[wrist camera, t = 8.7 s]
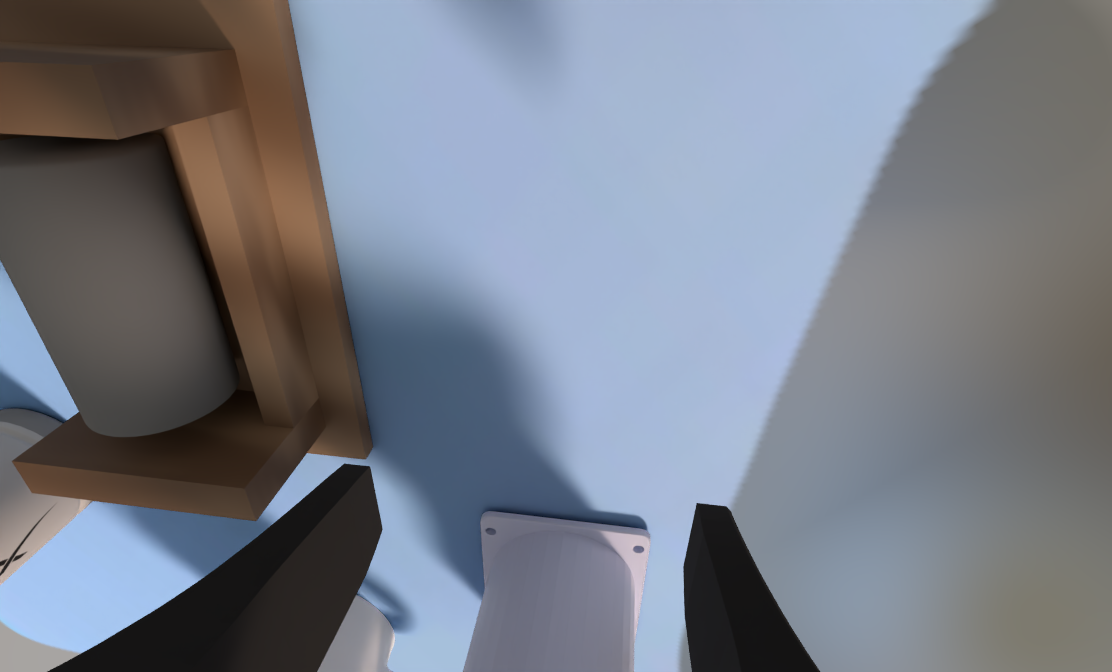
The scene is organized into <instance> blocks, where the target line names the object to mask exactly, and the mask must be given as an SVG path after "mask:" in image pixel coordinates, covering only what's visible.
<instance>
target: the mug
mask: <svg viewBox="0 0 1112 672" xmlns="http://www.w3.org/2000/svg"><path fill="white" fill-rule="evenodd" d="M394 641H395V636H394V631H393V629H392V626H391V624H390V623H389V621H388V620H387V618H386V617H385V616H384V615H383V614H382V613H381V612H380V611H379V610H378V609H377V608H376V607H375V606H373V605H372V604H371V603H369V602H368V601H366V600H365V599H363V598H362V597H360V596H358V595H356V596H355V598H354V600H353V602H352V604H351V606H350V608H349V610H348V612H347V614H346V616H345V618H344V620H343V622H342V624H341V626H340V628H339V630H338V632H337V634H336V636H335V638H334V640H333V642H332V644H331V646H330V648H329V650H328V652H327V654H326V656H325V658H324V660H323V661H322V663H321V665H320V667H319V669H318V671H317V672H393V671H391V670H389V669H388V667H387V663H388V659H389V656H390V654H391V651H392V648H393V646H394Z"/></svg>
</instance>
